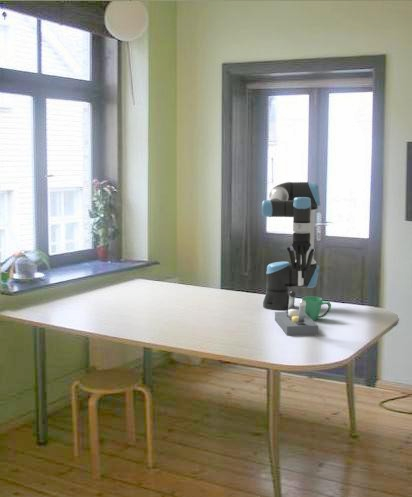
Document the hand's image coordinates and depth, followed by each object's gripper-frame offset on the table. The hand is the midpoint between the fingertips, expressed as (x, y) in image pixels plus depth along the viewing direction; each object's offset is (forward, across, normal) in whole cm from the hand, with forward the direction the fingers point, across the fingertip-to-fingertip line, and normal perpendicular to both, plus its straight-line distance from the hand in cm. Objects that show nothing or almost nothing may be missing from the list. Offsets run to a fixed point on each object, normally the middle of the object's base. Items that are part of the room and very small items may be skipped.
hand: (300, 285), depth 319 cm
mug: (+21, -3, +27) cm, 35 cm away
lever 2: (+17, 0, 0) cm, 17 cm away
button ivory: (+17, -8, +12) cm, 23 cm away
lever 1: (+16, -12, +18) cm, 27 cm away
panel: (+21, -6, +9) cm, 24 cm away
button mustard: (+19, -4, +6) cm, 20 cm away
